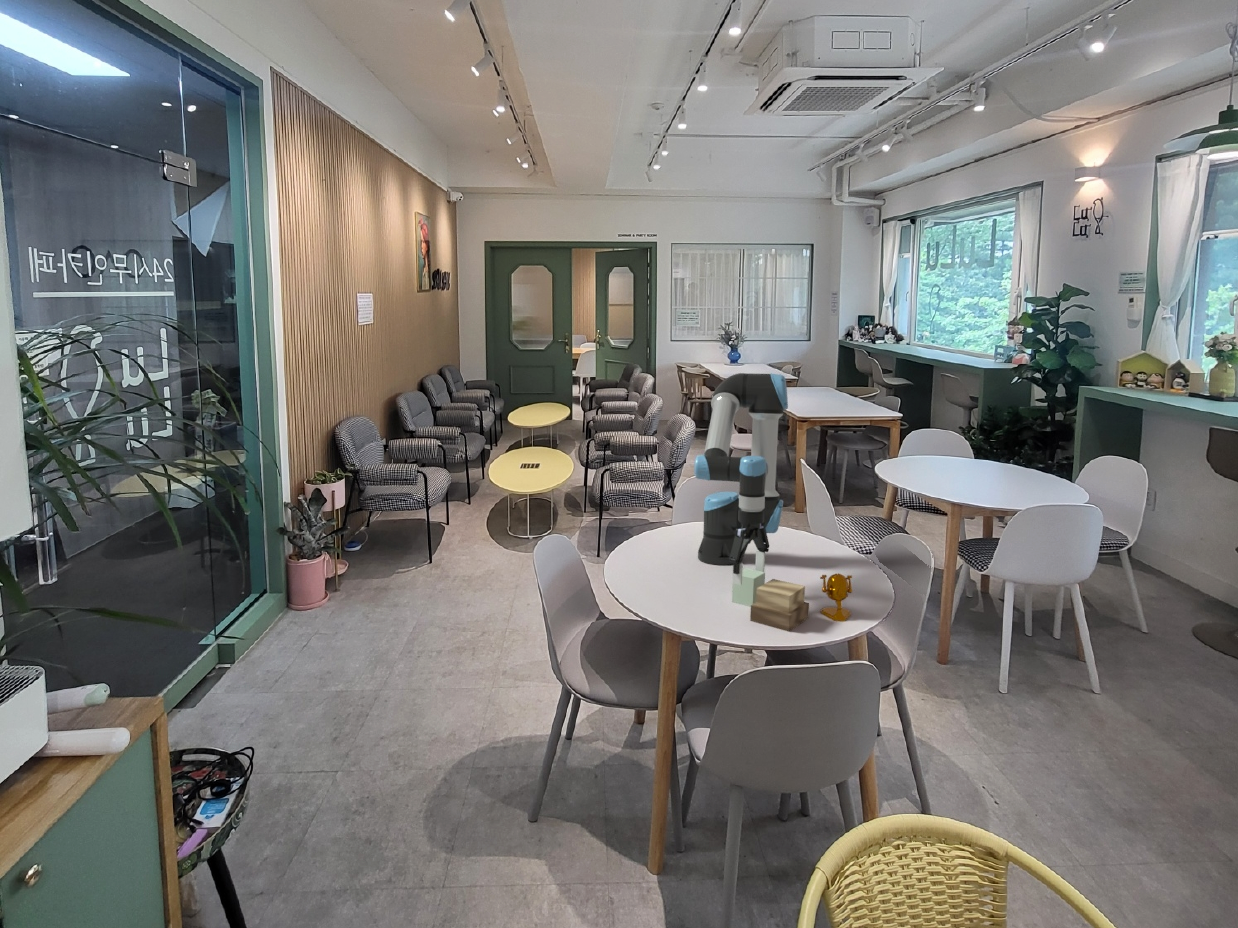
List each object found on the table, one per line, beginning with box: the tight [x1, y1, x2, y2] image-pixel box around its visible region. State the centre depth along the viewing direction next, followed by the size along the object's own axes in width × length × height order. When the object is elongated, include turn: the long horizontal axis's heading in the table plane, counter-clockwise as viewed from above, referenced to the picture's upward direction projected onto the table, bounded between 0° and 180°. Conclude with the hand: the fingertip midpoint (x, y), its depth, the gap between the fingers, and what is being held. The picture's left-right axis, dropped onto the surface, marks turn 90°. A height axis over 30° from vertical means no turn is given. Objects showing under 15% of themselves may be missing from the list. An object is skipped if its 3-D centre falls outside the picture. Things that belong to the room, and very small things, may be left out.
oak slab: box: [756, 578, 806, 613], centre depth 230 cm, size 10×10×5 cm
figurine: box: [819, 573, 853, 622], centre depth 234 cm, size 8×11×12 cm
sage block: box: [731, 567, 766, 608], centre depth 244 cm, size 7×7×9 cm
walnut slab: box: [749, 601, 810, 632], centre depth 231 cm, size 12×12×5 cm
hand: (748, 578), depth 243 cm, fingers open, 13 cm apart
